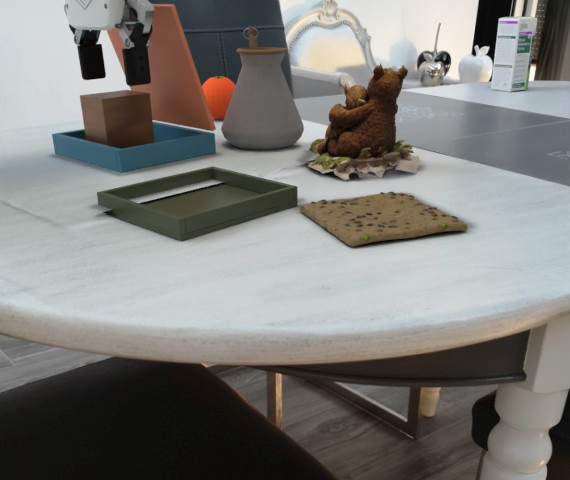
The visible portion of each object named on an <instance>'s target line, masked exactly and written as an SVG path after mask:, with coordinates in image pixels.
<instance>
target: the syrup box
mask: <svg viewBox="0 0 570 480" xmlns="http://www.w3.org/2000/svg"><path fill="white" fill-rule="evenodd" d="M537 26H538V17H536V16H528V15H527V16H503V17H499V18H498V23H497V32H496V41H495V48H494V56H493V57H494V58H493V67H492V74H491V83H490V89H491V90H494V91H500V92H507V93H508V92H509V93H512V92H518V91H527V90H528V88H529V81H530V73H531V66H532V60H533V52H534V46H535V40H536V39H535V38H536V33H537Z"/></svg>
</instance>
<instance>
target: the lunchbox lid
mask: <svg viewBox="0 0 570 480" xmlns="http://www.w3.org/2000/svg"><path fill="white" fill-rule="evenodd" d="M151 4H152V5H153V6H154V16H153V22H152V24H151V25H152V28H153V30H152V33H151V36H150V38H149V39H150V46H149V47H147V48H148V57H149V66H150V76H151V82H150V84H144V85H136V86H129V90H131V91H138V92H145V93H150V100H151V110H152V120H153V121H155V122H160V123H165V124H171V125H176V126H181V127H187V128H192V129H197V130H199V129H200V130H203V131H208V132H214V131H216V130H217V127H216V125H215V124H216V123H215V122H214V118H212V115H211V112H210V109H209V106H208V103H207V100H206V97H205V94H204V91H203V88H202V86H203V85H202V83H201V80H200V77H199V74H198V70H197V68H196V65H195V61H194V59H193V56H192V53H191V50H190V47H189V44H188V41H187V38H186V35H185V32H184V29H183V26H182V23H181V20H180V16H179V14H178V11H177V8H176V5H175V4H174V3H172V4H171V3H151ZM106 33H107V35H108V37H109V40H110V43H111V45H112V47H113V50H114V53H115V54H116V58H117V59H118V62H119V64H120V67H121V69H122V72H123V74H124V75H125V69H124V61H123V53H122V49H126V46H125V44H124V43H123V41H122V39H121V37H120V35H119V33H118V32H117V30H116V28H113V29H111V30H106ZM129 33H130V34H131V33H132V30H131V31H129Z"/></svg>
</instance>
